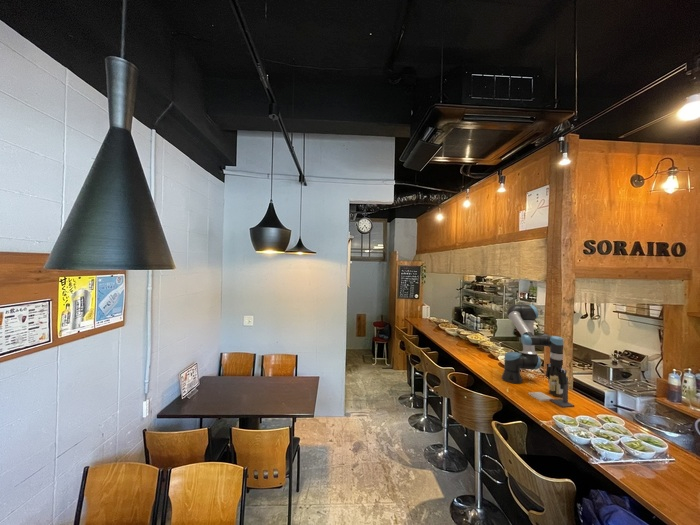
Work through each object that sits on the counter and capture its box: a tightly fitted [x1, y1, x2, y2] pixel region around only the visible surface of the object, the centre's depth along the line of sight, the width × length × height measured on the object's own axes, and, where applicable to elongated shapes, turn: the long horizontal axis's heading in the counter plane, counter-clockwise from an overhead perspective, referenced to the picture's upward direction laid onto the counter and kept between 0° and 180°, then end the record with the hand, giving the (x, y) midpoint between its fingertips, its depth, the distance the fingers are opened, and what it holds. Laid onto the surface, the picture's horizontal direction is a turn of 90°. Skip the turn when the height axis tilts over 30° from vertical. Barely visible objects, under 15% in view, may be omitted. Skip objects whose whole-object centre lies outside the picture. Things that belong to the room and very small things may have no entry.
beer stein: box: [548, 372, 563, 399], centre depth 220 cm, size 15×11×20 cm
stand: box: [549, 376, 575, 409], centre depth 203 cm, size 10×13×19 cm
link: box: [549, 375, 562, 394], centre depth 202 cm, size 7×3×11 cm, turn 11°
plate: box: [527, 391, 554, 402], centre depth 213 cm, size 11×11×1 cm
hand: (555, 390), depth 203 cm, fingers closed on link, 7 cm apart
